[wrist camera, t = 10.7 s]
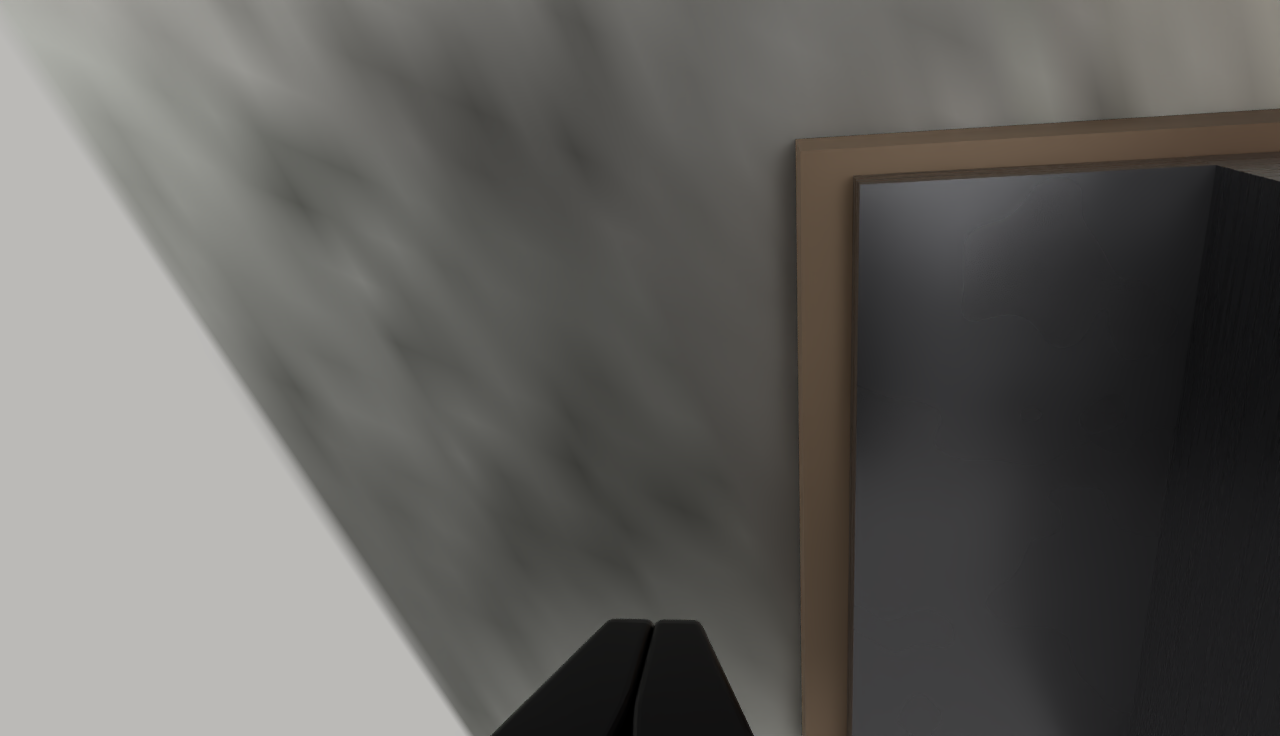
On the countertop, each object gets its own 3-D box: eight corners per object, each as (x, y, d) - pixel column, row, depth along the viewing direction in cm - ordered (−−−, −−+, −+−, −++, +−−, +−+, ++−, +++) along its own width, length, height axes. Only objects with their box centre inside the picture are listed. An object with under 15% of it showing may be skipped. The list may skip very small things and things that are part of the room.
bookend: (1303, 150, 8) (2108, 302, 3) (1178, 815, 11) (1511, 1420, 6) (853, 175, 8) (971, 335, 4) (845, 799, 11) (909, 1340, 6)
